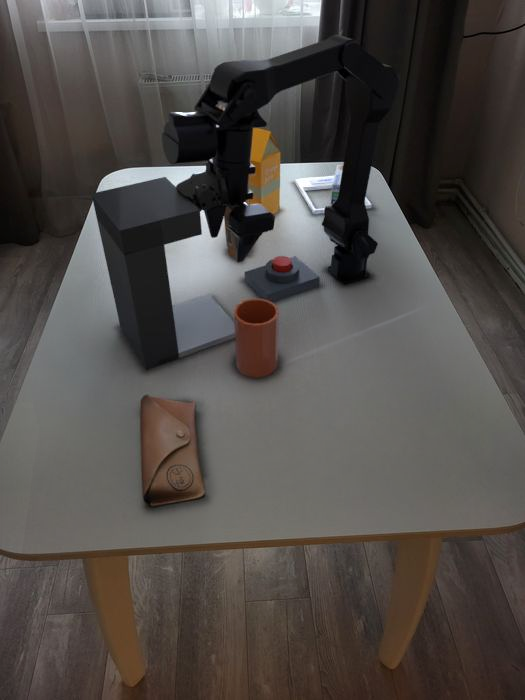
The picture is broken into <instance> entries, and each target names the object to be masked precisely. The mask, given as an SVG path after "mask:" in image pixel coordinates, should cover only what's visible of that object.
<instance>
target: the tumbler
mask: <svg viewBox="0 0 525 700" xmlns="http://www.w3.org/2000/svg"><path fill="white" fill-rule="evenodd" d="M279 315H280V313H279V308H278V306H277V305H276V304H275V303H274V302H270V301H268V300H265V299H262V298H261V297H259V298H257V297H256V298H249V299H245V300H242V301H240V302H239V303H238V304H236V306H235V307H234V309H233V322H234V324H235V338H234V343H235V346H234V347H235V366H236V368H237V370H238V372H240V373H241V374H242V375H245V376H246V377H248V378H257V379H258V378H265V377H267V376H270V375H271V374H273V373H274V372H275V371H276V369H277V367H278V360H279V359H278V358H279V357H278V356H279V318H280V316H279Z"/></svg>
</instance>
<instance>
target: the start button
mask: <svg viewBox="0 0 525 700" xmlns="http://www.w3.org/2000/svg"><path fill="white" fill-rule="evenodd" d="M290 258H291V257H289V256H286V255H279V256H275V257H274V258H273V270H274V271H276V272H288V271H290V270H291V263H292V261H291V259H290Z"/></svg>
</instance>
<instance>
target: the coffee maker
mask: <svg viewBox="0 0 525 700" xmlns="http://www.w3.org/2000/svg"><path fill="white" fill-rule="evenodd" d="M176 186H177V185H176ZM176 186H175V184H173V182H172V181H171V180H170V179H168V178H167V177H166V176H162V177H158V178H154V179H150V180H144V181H141V182H136V183H132V184H128V185H123V186H119V187H114V188H110V189H105V190H101V191H96V192H92V193H91V198H92V203H93V207H94V212H95V217H96V221H97V225H98V230H99V231H98V232H99V235H100V239H101V244H102V249H103V253H104V254H103V255H104V259H105V263H106V268H107V273H108V277H109V281H110V286H111V291H112V295H113V299H114V304H115V309H116V312H117V313H116V314H117V318H118V322H119V327H120V329H121V331H122V333H123V334H124V336H125V338H126V339H127V341H128V343H129V345H130V346H131V347H132V349H133V351H134V352H135V354H136V356H137V357H138V360H139V362H141V364H142V366H143V368H144V369H145V371H148V370H151V369H154V368H156V367H158V366H161V365H164V364H167V363H170V362H172V361H176V360H178V359H181V358H183V357H186V356H189V355H192V354H195V353H198V352H200V351H203V350H206V349H208V348H211V347H213V346H216V345H219V344H222V343H225V342H228V341H230V340H233V339H235V324H234V320H233V319H232V318H231V317H230V316H229V315H228V314H227V312H226V311H225V310H224V309H223V308H222V307H221V306H220V304H219V303H218V302H217V301H216V299H215V298H214V297H213V296H212V294H210V293H208V294H204V295H201V296H199V297H195V298H192V299H189V300H185V301H183V302H179V303H176V304H173V300H172V299H173V298H172V293H171V284H170V277H169V270H168V262H167V255H166V248H165V245H169V244H172V243H176V242H179V241H184V240H187V239H190V238H193V237H197V236H201V235H203V230H202V229H203V228H202V220H201V219H202V217H201V212H200V209H198V208H197V207H196V206H195V205H194V204H193V203H192V202H191V201H190V200H189V199H187V198H185V197H184V196H183V195H182V194H181V193H179V192H178V191H177V189H176Z"/></svg>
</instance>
